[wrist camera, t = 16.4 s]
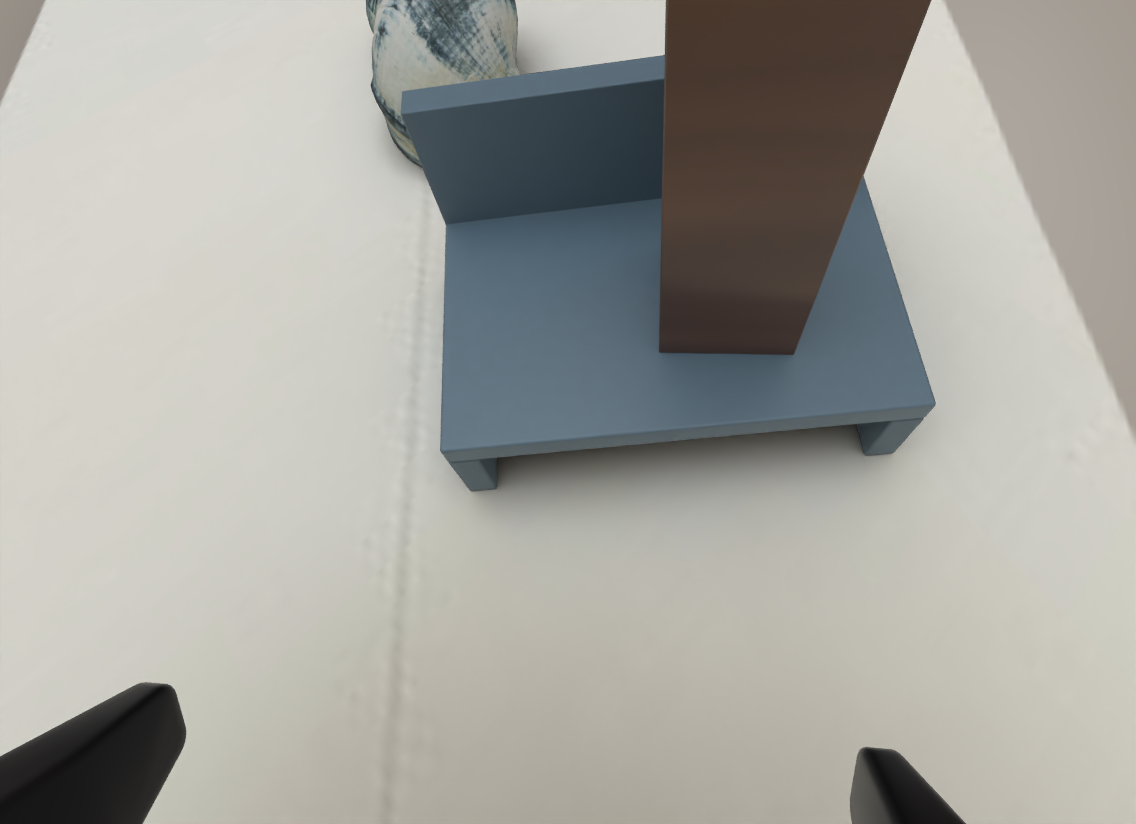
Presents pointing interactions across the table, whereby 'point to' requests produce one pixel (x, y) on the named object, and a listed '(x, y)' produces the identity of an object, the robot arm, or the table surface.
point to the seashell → (436, 50)
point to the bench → (620, 287)
